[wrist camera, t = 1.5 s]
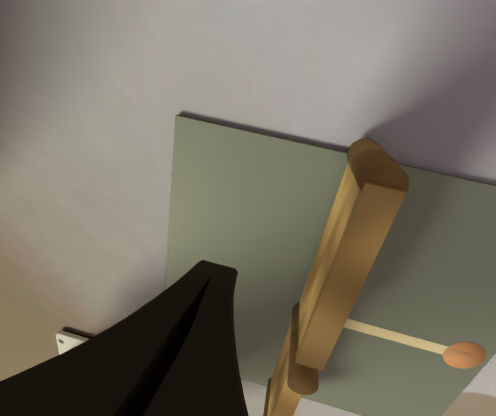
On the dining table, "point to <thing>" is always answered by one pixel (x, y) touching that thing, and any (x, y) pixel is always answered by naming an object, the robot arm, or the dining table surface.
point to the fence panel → (348, 247)
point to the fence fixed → (289, 376)
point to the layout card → (303, 253)
